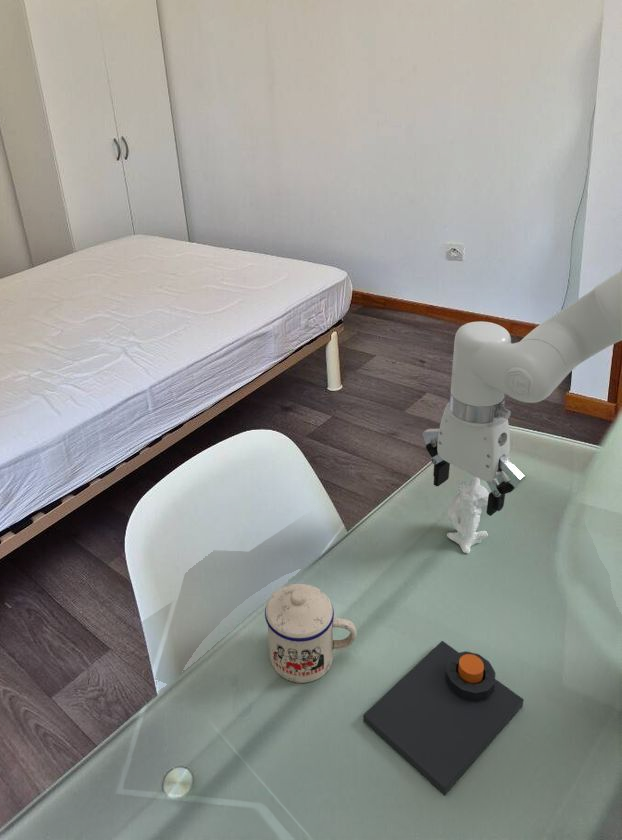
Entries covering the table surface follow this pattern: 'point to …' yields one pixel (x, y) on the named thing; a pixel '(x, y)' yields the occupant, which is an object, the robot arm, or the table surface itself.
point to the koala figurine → (467, 514)
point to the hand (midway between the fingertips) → (466, 496)
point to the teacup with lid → (303, 632)
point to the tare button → (471, 668)
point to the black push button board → (442, 716)
